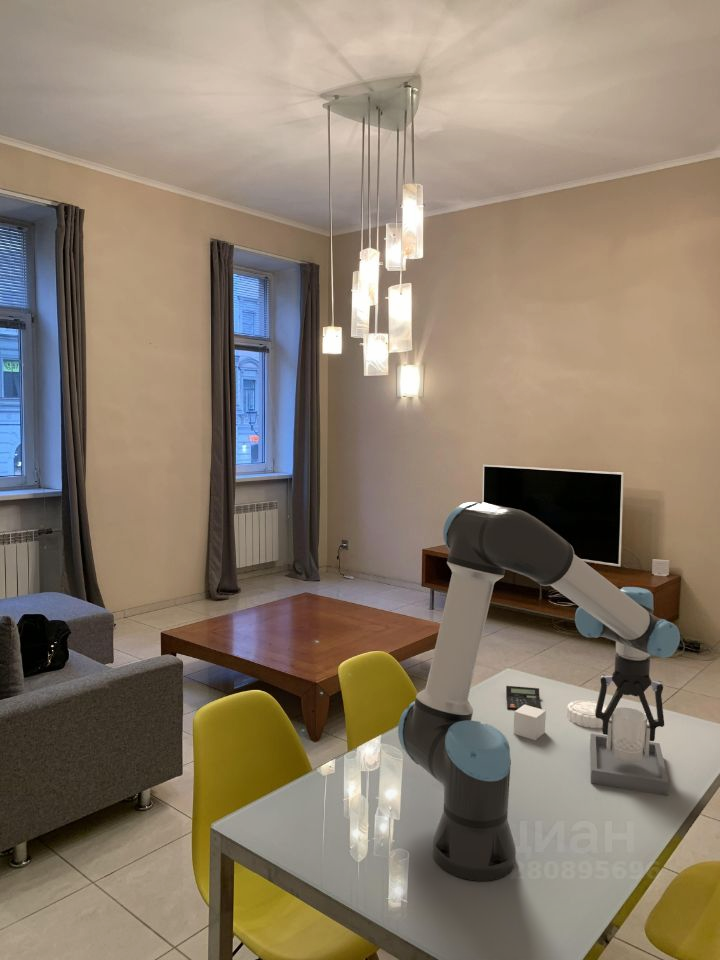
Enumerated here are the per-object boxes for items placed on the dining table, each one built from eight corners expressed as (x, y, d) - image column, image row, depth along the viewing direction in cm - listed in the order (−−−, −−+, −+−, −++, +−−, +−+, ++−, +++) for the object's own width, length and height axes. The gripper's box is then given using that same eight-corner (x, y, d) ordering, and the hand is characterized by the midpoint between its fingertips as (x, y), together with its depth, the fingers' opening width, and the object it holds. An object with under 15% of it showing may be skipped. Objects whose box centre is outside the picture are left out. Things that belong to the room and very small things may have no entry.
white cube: (523, 726, 192) (524, 704, 191) (544, 732, 188) (546, 710, 188) (513, 734, 187) (514, 711, 186) (535, 740, 183) (536, 717, 183)
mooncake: (569, 727, 192) (570, 713, 192) (563, 709, 204) (564, 696, 204) (616, 730, 191) (617, 717, 190) (607, 712, 202) (608, 700, 202)
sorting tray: (667, 795, 157) (668, 782, 157) (590, 782, 162) (591, 770, 162) (658, 755, 177) (659, 743, 176) (589, 745, 181) (590, 733, 181)
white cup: (618, 744, 175) (621, 704, 174) (650, 756, 169) (653, 714, 168) (602, 754, 169) (605, 713, 168) (635, 766, 164) (638, 724, 163)
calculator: (507, 710, 203) (507, 699, 202) (505, 695, 214) (506, 685, 214) (541, 713, 201) (542, 702, 201) (538, 697, 212) (538, 687, 212)
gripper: (678, 655, 168) (672, 750, 170) (586, 645, 174) (581, 737, 176) (683, 665, 160) (676, 764, 162) (586, 654, 166) (581, 750, 168)
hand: (627, 750), depth 169 cm, fingers closed on white cup, 8 cm apart
